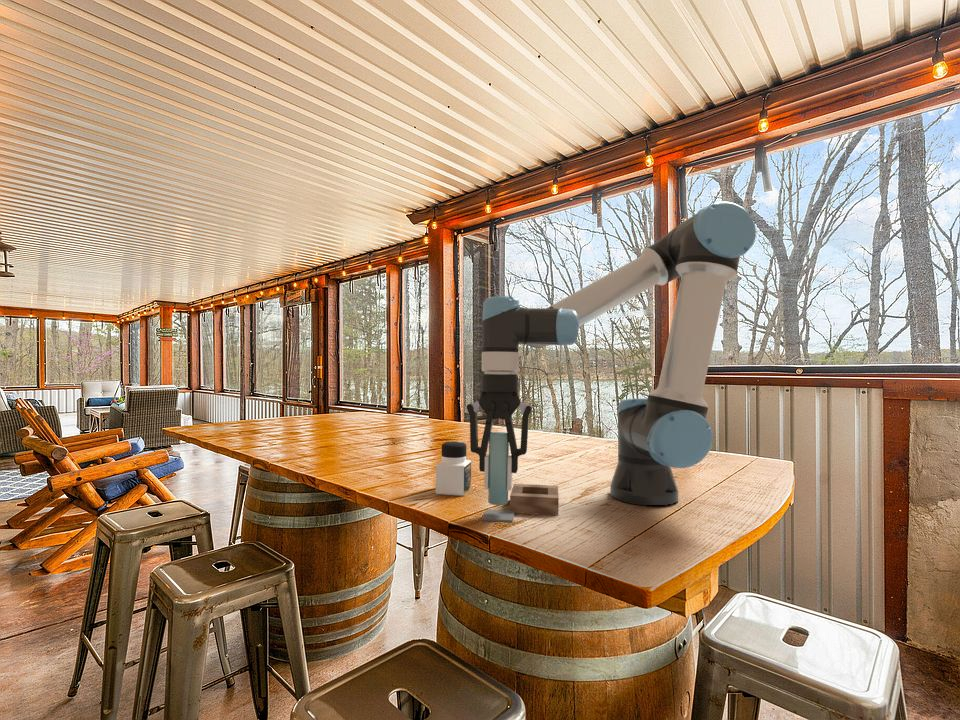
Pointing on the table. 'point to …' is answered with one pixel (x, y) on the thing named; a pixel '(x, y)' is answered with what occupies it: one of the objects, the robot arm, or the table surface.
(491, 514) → the coaster
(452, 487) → the medicine bottle
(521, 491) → the socket block
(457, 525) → the table surface
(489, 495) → the peg
